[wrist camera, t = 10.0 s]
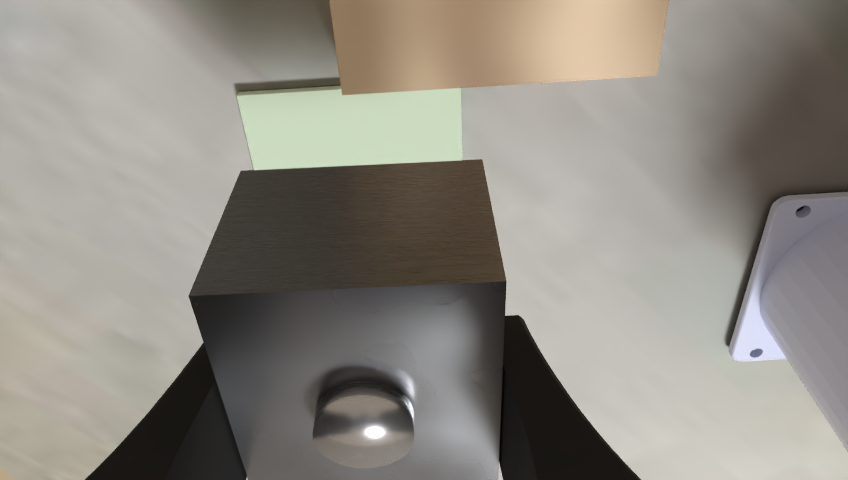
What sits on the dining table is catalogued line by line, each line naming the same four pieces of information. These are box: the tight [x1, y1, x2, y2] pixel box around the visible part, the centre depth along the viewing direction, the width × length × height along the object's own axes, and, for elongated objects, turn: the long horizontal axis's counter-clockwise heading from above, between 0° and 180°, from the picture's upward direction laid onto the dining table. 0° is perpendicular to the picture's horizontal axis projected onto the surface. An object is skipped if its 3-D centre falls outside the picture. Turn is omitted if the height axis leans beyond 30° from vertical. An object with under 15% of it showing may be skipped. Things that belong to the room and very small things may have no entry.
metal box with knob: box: [189, 160, 506, 480], centre depth 13 cm, size 5×6×4 cm
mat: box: [237, 86, 462, 170], centre depth 23 cm, size 7×7×1 cm
